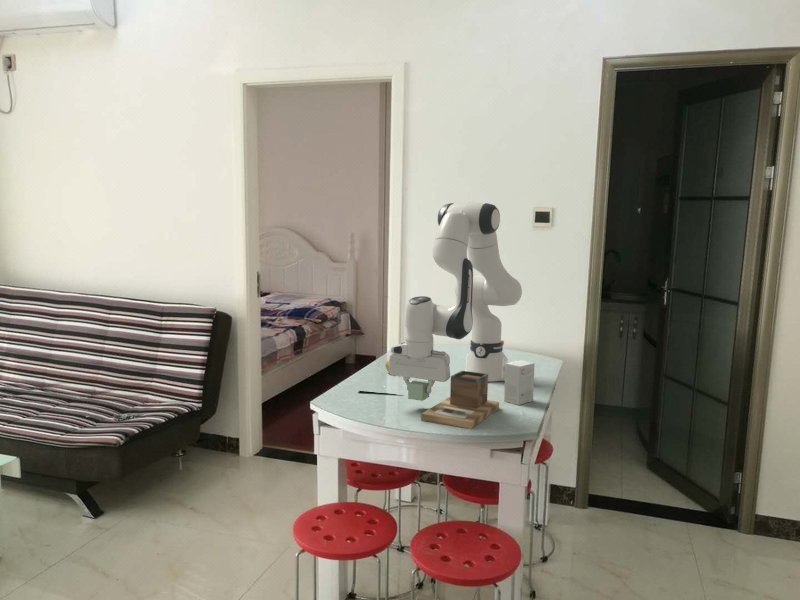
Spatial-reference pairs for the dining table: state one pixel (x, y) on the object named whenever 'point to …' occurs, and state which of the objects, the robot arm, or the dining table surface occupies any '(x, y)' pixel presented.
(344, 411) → the dining table surface
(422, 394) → the sage block
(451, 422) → the oak base board
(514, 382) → the small box
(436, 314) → the robot arm
